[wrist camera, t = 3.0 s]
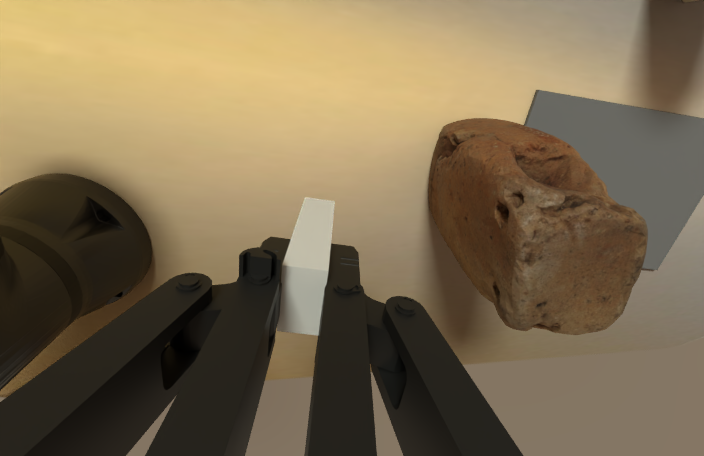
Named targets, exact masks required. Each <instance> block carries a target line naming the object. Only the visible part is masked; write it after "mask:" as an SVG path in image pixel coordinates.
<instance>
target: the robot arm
mask: <svg viewBox="0 0 704 456" xmlns="http://www.w3.org/2000/svg"><path fill="white" fill-rule="evenodd" d="M334 205H335V201H330V200H323V199H316V198H308V197H305V199H304V202H303V205H302V208H301V211H300V214H299V217H298V220H297V223H296V226H295V228H294V231H293V234H292V237H291V239H285V238H277V237H270V238H268V239H267V240H265V241H263V243H262V245H261V247H260V248H259V247H257V248H250V249H247V250H245V251H243V252H242V253H241V254H240V255H239V278H238V279H237V281H236V282H234V283H230V284H222V285H212V280H211V279H210V278H209V277H208V276H206V275H204V274H199V273H185V274H181V275H177V276H175V277H173V278H171V279H170V280H168V281H167V282H165V283H164V284H163V285H161V286H160V287H159V288H157V289H156V290H154V291H153V292H152V293H150V294H149V295H148V296H146V297H145V298H143V299H142V300H141V301H139V302H138V303H137V304H135V305H134V306H132V307H131V308H130V309H128V310H127V311H126V312H124V313H123V314H121V315H120V316H119V317H117V318H116V319H114V320H113V321H112V322H110V323H109V324H108V325H106V326H105V327H103V328H102V329H101V330H99V331H98V332H97V333H95V334H94V335H92V336H91V337H90V338H88V339H87V340H86V341H84V342H83V343H81V344H80V345H79V346H77V347H76V348H75V349H73V350H72V351H70V352H69V353H68V354H66V355H65V356H63V357H62V358H61V359H59V360H58V361H57V362H55V363H54V364H52V365H51V366H50V367H48V368H47V369H46V370H44V371H43V372H41V373H40V374H39V375H37V376H36V377H35V378H33V379H32V380H30V381H29V382H28V383H26V384H25V385H23V386H22V387H21V388H19V389H18V390H17V391H15V392H14V393H12V394H11V395H10V396H8V397H7V398H6V399H4V400H3V401H1V402H0V456H126V455H127V453H128V452H129V451H130V450H131V449H132V448H133V446H134V445H135V444H136V443H137V442H138V440H139V439H140V438H141V437H142V435H144V433H145V432H146V431H147V430H148V429H149V427H150V426H151V425H152V424H153V423H154V421H155V420H156V419H157V418H158V417H159V415H160V414H161V413H162V412H163V411H164V409H165V408H166V407H167V406H168V404H169V403H170V402H171V401H172V400H173V399H174V397H175V396H176V395H177V396H176V398H175V400H174V402H173V403H172V406H171V407H170V409H169V411H168V413H167V415H166V417H165V419H164V421H163V423H162V425H161V426H160V428H159V430H158V432H157V434H156V436H155V438H154V440H153V442H152V444H151V445H150V447H149V450H148V451H147V453H146V455H145V456H245V453H246V449H247V445H248V442H249V438H250V434H251V430H252V426H253V422H254V419H255V415H256V411H257V408H258V404H259V400H260V396H261V392H262V388H263V385H264V381H265V377H266V373H267V370H268V366H269V362H270V358H271V354H272V351H273V347H274V343H275V333H276V327H277V331H282V332H292V333H301V334H310V335H318V342H317V349H316V356H315V367H314V376H313V385H312V394H311V403H310V411H309V421H308V429H307V438H306V447H305V456H377V452H376V438H375V425H374V413H373V400H372V387H371V373H370V364H371V368H372V372H373V375H374V377H375V380H376V383H377V385H378V388H379V391H380V393H381V396H382V399H383V402H384V404H385V407H386V409H387V412H388V415H389V418H390V420H391V423H392V426H393V429H394V431H395V434H396V436H397V439H398V442H399V445H400V447H401V450H402V453H403V455H404V456H523V455H522V453H521V452H520V450H519V449H518V447H517V446H516V444H515V443H514V441H513V440H512V438H511V437H510V435H509V434H508V432H507V431H506V429H505V428H504V426H503V425H502V423H501V422H500V421H499V419H498V417H497V416H496V415H495V413H494V412H493V410H492V408H491V407H490V405H489V404H488V403H487V401H486V400H485V398H484V396H483V395H482V394H481V392H480V391H479V389H478V388H477V386H476V385H475V383H474V382H473V380H472V379H471V377H470V376H469V374H468V373H467V371H466V370H465V368H464V367H463V365H462V364H461V362H460V361H459V359H458V358H457V356H456V355H455V353H454V352H453V350H452V349H451V347H450V346H449V344H448V343H447V341H446V340H445V338H444V337H443V336H442V334H441V333H440V331H439V330H438V328H437V327H436V325H435V324H434V322H433V321H432V319H431V318H430V316H429V315H428V313H427V312H426V310H425V309H424V307H423V306H422V305H421V304H420V303H418V302H417V301H415V300H413V299H411V298H408V297H403V296H395V297H391V298H390V299H388V300H387V302H386V304H384V303H381V302H378V301H376V300H373V299H371V298H370V297H368V296H367V295H366V294H364V289H363V287H362V286H361V285H360V271H359V256H358V252H357V251H356V249H355V248H354V247H353V246H346V245H338V244H331V238H332V227H333V216H334ZM150 262H151V244H150V240H149V237H148V234H147V231H146V229H145V227H144V225H143V223H142V222H141V220H140V219H139V217H138V216H137V214H136V213H135V212H134V211H133V209H132V208H131V207H130V206H129V205H128V204H127V203H126V202H125V201H124V200H122V199H121V198H120V197H119V196H117V195H116V194H115V193H113V192H112V191H110V190H109V189H107V188H105V187H104V186H102V185H100V184H98V183H96V182H93V181H91V180H88V179H85V178H82V177H78V176H74V175H68V174H45V175H40V176H37V177H33V178H31V179H28V180H25V181H22V182H19V183H16V184H14V185H12V186H10V187H8V188H7V189H5V190H4V191H2V192H1V193H0V390H1V389H2V388H3V387H4V386H5V385H6V384H8V383H9V382H10V381H11V380H12V379H13V378H14V377H15V376H16V375H17V374H18V373H19V372H20V371H21V370H22V369H23V368H24V367H25V366H27V365H28V364H29V363H30V362H31V361H32V360H33V359H34V358H35V357H36V356H37V355H38V354H39V353H40V352H41V351H42V350H43V349H44V348H46V347H47V346H48V345H49V344H50V343H51V342H52V341H53V340H54V339H55V338H56V337H57V336H58V335H59V334H60V333H61V332H62V331H63V330H64V329H65V328H67V327H68V326H69V325H70V324H71V323H72V322H73V321H74V320H75V319H78V318H80V317H82V316H84V315H86V314H88V313H91V312H93V311H95V310H97V309H99V308H101V307H103V306H105V305H107V304H110V303H112V302H115V301H117V300H119V299H120V298H122V297H124V296H125V295H126V294H128V293H129V292H130V291H131V290H132V289H133V288H134V287H135V286H136V285H137V284H138V283H139V282H140V281H141V280H142V279H143V277H144V276H145V275H146V273H147V271H148V269H149V266H150ZM277 324H278V325H277Z"/></svg>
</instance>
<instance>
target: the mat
mask: <svg viewBox="0 0 704 456" xmlns="http://www.w3.org/2000/svg"><path fill="white" fill-rule="evenodd" d="M524 126H527V127H530V128H534V129H538V130H540V131H542V132H545V133H548V134H550V135H553V136H555V137H557V138H559V139H561V140H563V141H565V142H566V143H568V144H569V145H571V146H572V147H573V148H574V149H575V150H576V151H577V152H578V153H579V154H580V156H581V158H582V159H583V160H584V161H585V162H586V163H588V164H589V166H590V167H591V168H592V169H593V171H594V172H595V173H597V176H598V178H600V179H601V180H602V181H603V182H604V183H605V185H606V186H607V192H608V196H609V197H611V198H612V199H613V200H614V201H616V202H617V203H618V204H619V205H623V206H626V207H630V208H633V209H634V210H635V211H636V212H637V213H638V214H639V215H641V216H642V217H643V218H644V219H645V221H646V224H647V228H648V242H647V250H646V255H645V259H644V263H643V266H642V268H645V269H652V270H658V268H659V266H660V265H661V263H662V262H663V260H664V258H665V257H666V255H667V253H668V252H669V250H670V249H671V247H672V245H673V244H674V242H675V240H676V239H677V237H678V236H679V234H680V232H681V231H682V229H683V227H684V226H685V224H686V223H687V221H688V219H689V218H690V216H691V215H692V213H693V211H694V210H695V208H696V206H697V205H698V203H699V202H700V200H701V198H702V197H703V195H704V118H698V117H692V116H686V115H680V114H675V113H669V112H663V111H657V110H651V109H646V108H640V107H634V106H628V105H622V104H617V103H611V102H605V101H599V100H594V99H588V98H582V97H576V96H570V95H565V94H559V93H553V92H547V91H541V90H536V93H535V96H534V98H533V101H532V104H531V107H530V110H529V113H528V115H527V118H526V121H525V124H524Z"/></svg>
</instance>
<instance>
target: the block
mask: <svg viewBox="0 0 704 456" xmlns="http://www.w3.org/2000/svg"><path fill="white" fill-rule="evenodd" d="M429 204H430V210H431V213H432V216H433V218H434V220H435V223H436V225H437V227H438V229H439V231H440V233H441V235H442V236H443V238H444V240H445V242H446V243H447V245H448V247H449V248H450V249H451V251H452V252H453V254H454V256H455V257H456V259H457V261H458V262H459V264H460V266H461V267H462V269H463V270H464V272H465V273H466V274H467V276H468V277H469V278H470V279H471V281H472V283H473V284H474V285H475V286H476V288H477V289H478V290H479V292H480V293H481V295H483V296H484V297H485V298H487V299H488V300H489V301H491V302H493V303H494V305H495V307H496V310H497V312H498V315H499V316H500V318H501V319H502V321H503V322H504V323H505V325H506V326H508V327H510V328H512V329H516V330H521V331H528V330H530V329H532V327H534V328H540V329H546V330H549V331H552V332H555V333H562V334H570V335H579V334H585V333H591V332H598V331H601V330H604V329H607V328H608V327H609V326H610V325H612V324H613V323H614V322H615V321H616V320H617V319H618V318H619V317H620V315H621V314H622V313H623V311H624V308H625V306H626V304H627V301H628V299H629V297H630V294H631V290H632V287H633V286H634V284H635V282H636V281H637V279H638V277H639V275H640V272H641V269H642V266H643V263H644V259H645V255H646V250H647V242H648V228H647V224H646V221H645V219H644V218H643V217H642V216H641V215H639V214H638V213H637V212H636V211H635V210H634V209H633V208H630V207H626V206H623V205H619V204H618V203H617V202H616V201H614V200H613V199H612V198H611V197H609V196H608V192H607V186H606V185H605V183H604V182H603V181H602V180H601V179H600V178H598V176H597V173H595V172H594V171H593V169H592V168H591V167H590V166H589V164H588V163H586V162H585V161H584V160H583V159H582V158H581V156H580V154H579V153H578V152H577V151H576V150H575V149H574V148H573V147H572V146H571V145H569V144H568V143H566V142H565V141H563V140H561V139H559V138H557V137H555V136H553V135H550V134H548V133H545V132H542V131H540V130H538V129H534V128H530V127H527V126H524V125H521V124H517V123H513V122H510V121H504V120H498V119H487V118H474V119H465V120H461V121H457V122H453V123H450V124H448V125H446V126H444V127H443V129H442V130H441V132H440V134H439V139H438V141H437V144H436V147H435V151H434V154H433V159H432V164H431V170H430V177H429Z"/></svg>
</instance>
